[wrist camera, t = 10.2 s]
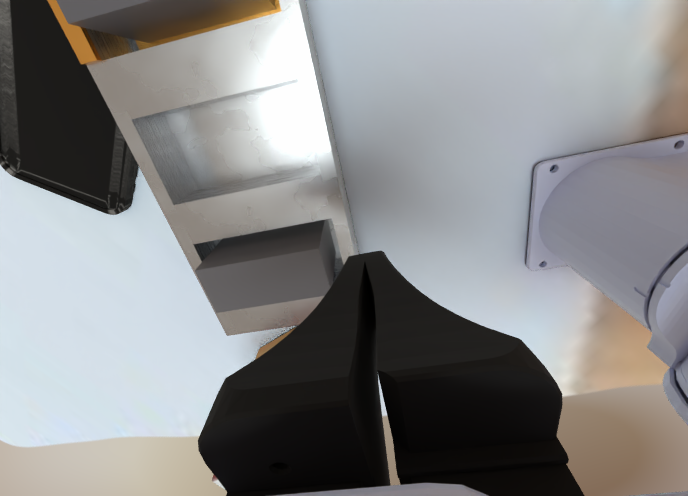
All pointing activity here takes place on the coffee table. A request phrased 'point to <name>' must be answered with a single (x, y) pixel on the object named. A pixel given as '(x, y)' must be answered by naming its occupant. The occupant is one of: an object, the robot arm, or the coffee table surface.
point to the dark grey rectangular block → (269, 267)
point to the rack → (228, 135)
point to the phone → (57, 114)
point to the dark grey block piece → (157, 15)
